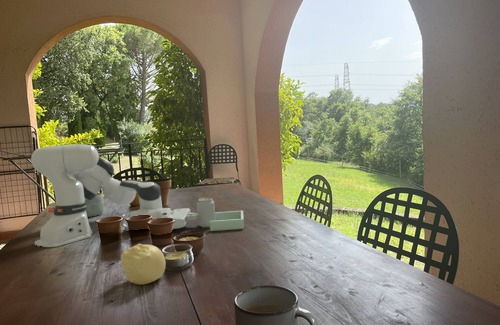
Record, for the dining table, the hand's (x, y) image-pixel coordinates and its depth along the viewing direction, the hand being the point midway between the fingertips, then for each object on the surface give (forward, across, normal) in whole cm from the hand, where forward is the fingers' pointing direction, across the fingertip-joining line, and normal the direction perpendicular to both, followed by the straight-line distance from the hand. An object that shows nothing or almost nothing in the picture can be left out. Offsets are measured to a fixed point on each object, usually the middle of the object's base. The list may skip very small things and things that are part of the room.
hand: (198, 216), depth 171 cm
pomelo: (-10, +57, -4) cm, 58 cm away
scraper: (-1, -18, -5) cm, 19 cm away
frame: (+12, +1, -4) cm, 13 cm away
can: (+4, +1, -4) cm, 6 cm away
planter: (-60, -37, -6) cm, 71 cm away
